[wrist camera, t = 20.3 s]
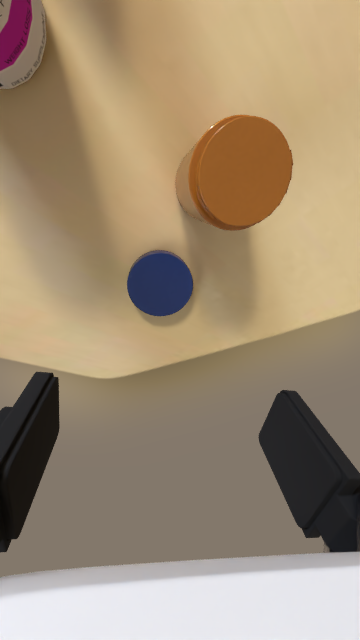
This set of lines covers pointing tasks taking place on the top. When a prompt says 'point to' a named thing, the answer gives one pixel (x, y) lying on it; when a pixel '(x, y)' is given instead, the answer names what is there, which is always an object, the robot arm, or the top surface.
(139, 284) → the lid
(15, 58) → the supplement can
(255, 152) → the jar
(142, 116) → the top surface
